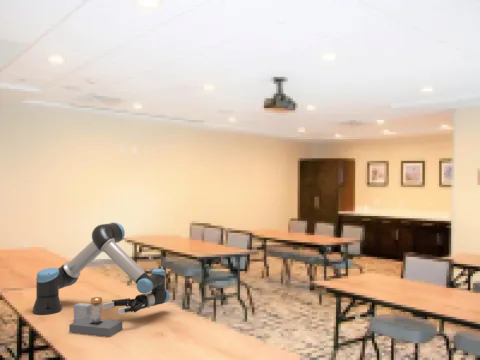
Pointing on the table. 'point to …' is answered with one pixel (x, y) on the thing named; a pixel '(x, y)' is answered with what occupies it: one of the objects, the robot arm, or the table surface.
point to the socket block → (96, 327)
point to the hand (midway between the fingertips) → (110, 309)
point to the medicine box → (82, 311)
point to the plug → (96, 310)
